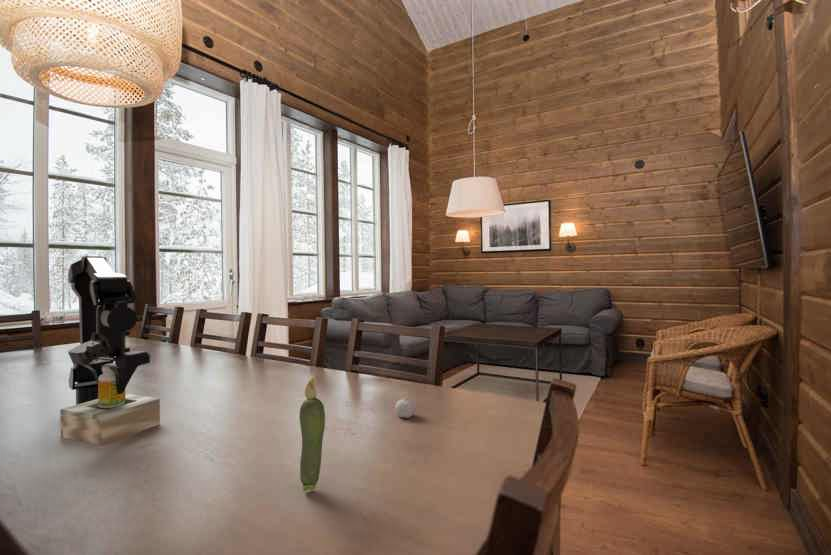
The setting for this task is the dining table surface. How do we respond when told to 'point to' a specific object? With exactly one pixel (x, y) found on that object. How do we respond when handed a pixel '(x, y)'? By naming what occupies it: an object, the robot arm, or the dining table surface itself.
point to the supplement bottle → (109, 389)
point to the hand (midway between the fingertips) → (111, 392)
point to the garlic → (405, 408)
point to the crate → (109, 419)
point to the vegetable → (311, 437)
